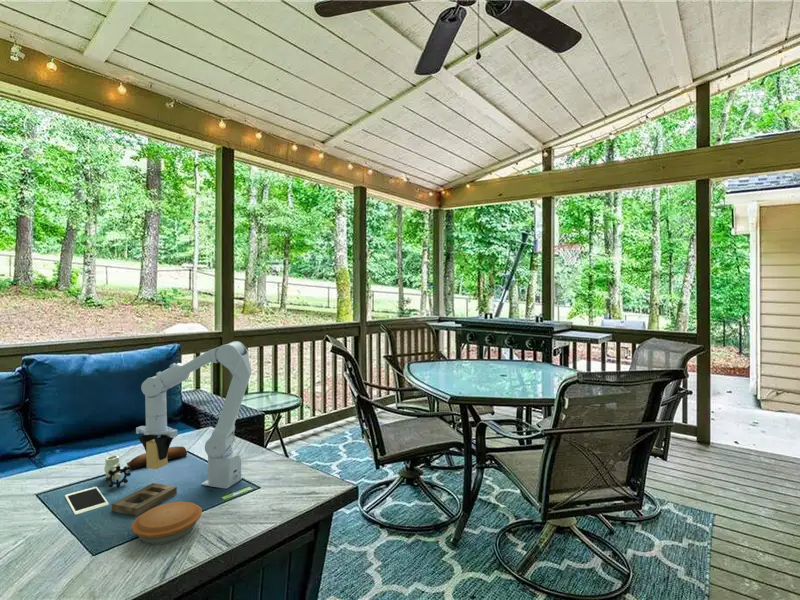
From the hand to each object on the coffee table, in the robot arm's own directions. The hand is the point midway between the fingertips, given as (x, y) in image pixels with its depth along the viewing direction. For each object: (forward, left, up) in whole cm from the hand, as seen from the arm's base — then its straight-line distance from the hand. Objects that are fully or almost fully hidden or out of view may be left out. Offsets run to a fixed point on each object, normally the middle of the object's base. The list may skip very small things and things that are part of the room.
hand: (157, 458), depth 132 cm
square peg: (0, 0, -3) cm, 2 cm away
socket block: (-6, +10, -8) cm, 14 cm away
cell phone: (+11, +14, -9) cm, 20 cm away
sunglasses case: (+16, -15, -9) cm, 24 cm away
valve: (+15, +2, -9) cm, 17 cm away
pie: (-25, +20, -9) cm, 33 cm away
